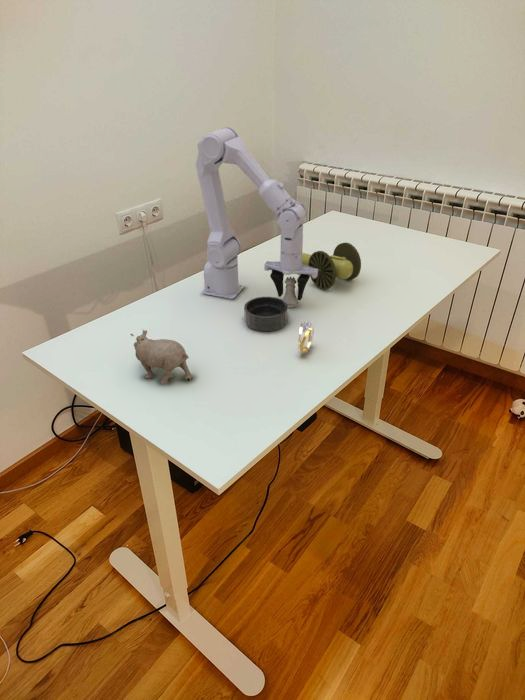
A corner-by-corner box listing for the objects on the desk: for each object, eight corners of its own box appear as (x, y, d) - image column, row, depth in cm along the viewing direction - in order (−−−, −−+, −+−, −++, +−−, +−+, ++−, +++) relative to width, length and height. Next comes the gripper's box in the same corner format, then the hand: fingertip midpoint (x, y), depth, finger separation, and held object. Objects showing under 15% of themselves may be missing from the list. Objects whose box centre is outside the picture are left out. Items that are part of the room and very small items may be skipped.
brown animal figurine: (177, 390, 105) (145, 324, 103) (144, 400, 114) (115, 340, 113) (203, 375, 110) (173, 313, 108) (170, 386, 120) (142, 329, 118)
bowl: (238, 328, 130) (237, 313, 127) (254, 308, 138) (254, 293, 136) (278, 336, 126) (278, 320, 124) (292, 315, 135) (293, 300, 132)
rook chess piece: (296, 309, 138) (297, 282, 133) (280, 307, 139) (281, 281, 134) (299, 301, 141) (300, 275, 137) (283, 300, 142) (283, 274, 138)
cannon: (279, 268, 160) (280, 234, 153) (307, 258, 166) (309, 225, 159) (334, 297, 143) (337, 260, 137) (363, 285, 149) (367, 249, 143)
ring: (304, 361, 117) (305, 332, 113) (292, 357, 119) (293, 328, 114) (317, 347, 122) (319, 318, 118) (306, 343, 124) (307, 315, 119)
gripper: (260, 252, 130) (260, 299, 138) (313, 260, 126) (311, 308, 133) (269, 243, 136) (269, 288, 143) (321, 250, 131) (318, 296, 139)
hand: (290, 296), depth 139 cm, fingers open, 5 cm apart
